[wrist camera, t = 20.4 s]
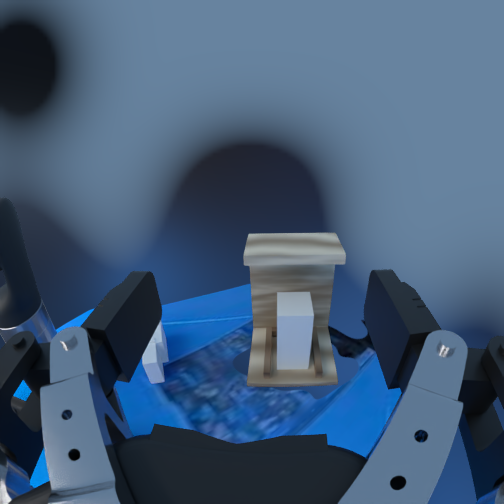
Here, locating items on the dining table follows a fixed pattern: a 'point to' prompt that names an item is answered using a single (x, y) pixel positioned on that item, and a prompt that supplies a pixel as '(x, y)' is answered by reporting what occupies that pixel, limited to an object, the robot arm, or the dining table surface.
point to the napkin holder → (156, 356)
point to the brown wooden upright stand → (291, 280)
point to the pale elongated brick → (294, 330)
